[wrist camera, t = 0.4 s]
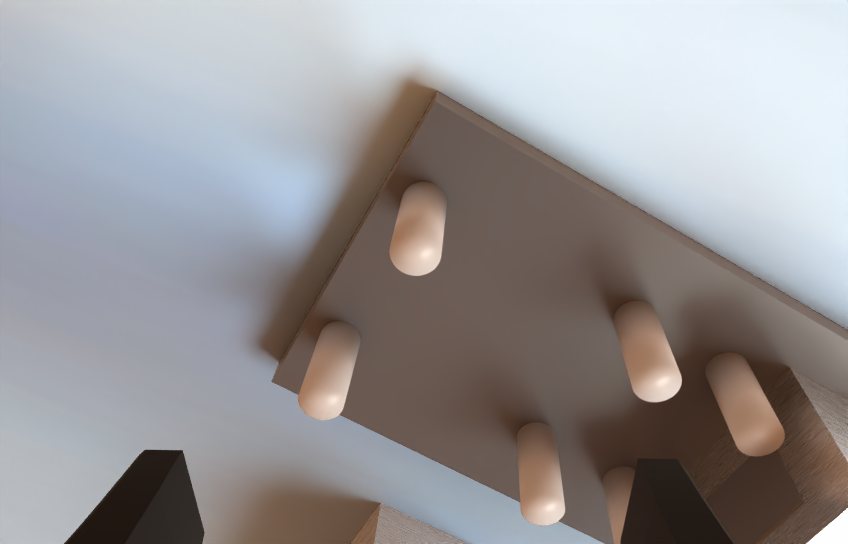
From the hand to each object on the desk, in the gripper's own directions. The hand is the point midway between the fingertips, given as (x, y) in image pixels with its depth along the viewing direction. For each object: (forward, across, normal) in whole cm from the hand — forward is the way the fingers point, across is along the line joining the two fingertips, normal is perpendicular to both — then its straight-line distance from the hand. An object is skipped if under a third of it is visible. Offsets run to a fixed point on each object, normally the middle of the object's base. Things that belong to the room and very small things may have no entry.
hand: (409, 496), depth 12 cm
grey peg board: (+10, -6, +6) cm, 13 cm away
